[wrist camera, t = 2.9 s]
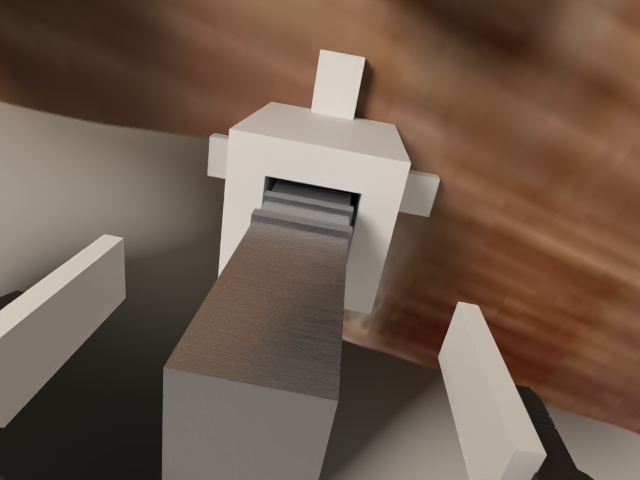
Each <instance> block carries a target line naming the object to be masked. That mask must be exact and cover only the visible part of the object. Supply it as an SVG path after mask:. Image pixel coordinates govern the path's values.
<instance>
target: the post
mask: <svg viewBox="0 0 640 480" xmlns="http://www.w3.org/2000/svg"><path fill="white" fill-rule="evenodd" d="M350 201H351V192H349V191H344V190H339V189H333V188H328V187H323V186H317V185H312V184H307V183H301V182H296V181H291V180H285V179H280V178H279V179H278V180H277V182H276V184H275V185H274V187H273V189H272V190H271V191H266V192H265V194H264V197H263V205H262V207H261V208H260V209H256V208H255V209H254V211H253V212H252V214H251V223H250V226H249V228H248V230H247V231H246V233H245V235H244V236H243V238H242V240H241V241H240V243H239V245H238V246H237V248H236V249H235V251H234V253H233V254H232V256H231V258H230V259H229V261H228V263H227V264H226V266H225V267H224V269H223V271H222V272H221V274H220V276H219V277H218V279H217V281H216V282H215V284H214V286H213V287H212V289H211V290H210V292H209V294H208V295H207V297H206V299H205V300H204V302H203V304H202V305H201V307H200V309H199V310H198V312H197V314H196V315H195V317H194V318H193V320H192V322H191V323H190V325H189V327H188V328H187V330H186V332H185V333H184V335H183V336H182V338H181V340H180V341H179V343H178V345H177V346H176V348H175V350H174V351H173V353H172V355H171V356H170V358H169V359H168V361H167V363H166V365H165V366H164V374H163V377H164V378H163V448H162V449H163V450H162V480H318V479H319V475H320V471H321V467H322V463H323V459H324V455H325V451H326V447H327V443H328V439H329V435H330V431H331V427H332V423H333V419H334V415H335V411H336V407H337V403H338V394H339V378H340V362H341V345H342V330H343V314H344V297H345V281H346V265H347V256H348V252H349V247H350V243H351V238H352V233H353V227H351V226H350V225H351V221H352V216H353V210H354V207H352V206H350Z"/></svg>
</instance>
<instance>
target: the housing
mask: <svg viewBox="0 0 640 480" xmlns="http://www.w3.org/2000/svg"><path fill="white" fill-rule="evenodd" d="M364 63H365V57H360V56H355V55H350V54H344V53H339V52H333V51H328V50H323V49H321V50H320V56H319V62H318V69H317V75H316V82H315V88H314V95H313V101H312V108H311V109H308V108H303V107H298V106H292V105H287V104H282V103H276V102H270V103H269V104H267V105H266V106H264V107H263V108H261V109H260V110H258V111H256V112H255V113H253V114H252V115H250V116H249V117H247V118H246V119H244V120H243V121H241V122H239V123H238V124H236V125H235V126H233V127H232V128H230V129H229V136H228V135H223V134H218V133H214V134H212V135H211V136H210V140H209V158H208V176H213V177H218V178H224V179H226V182H225V195H224V209H223V221H222V235H221V248H220V260H219V261H220V262H219V274H218V277H219V276H220V274H221V272H222V271H223V269H224V267H225V266H226V264H227V263H228V261H229V259H230V258H231V256H232V254H233V253H234V251H235V249H236V248H237V246H238V245H239V243H240V241H241V240H242V238H243V236H244V235H245V233H246V231H247V230H248V228H249V226H250V223H251V214H252V212H253V211H254V209H255V208H256V209H260V208H261V207H262V205H263V197H264V194H265V192H266V191H271V190H272V189H273V187H274V185H275V184H276V182H277V180H278V179H279V178H280V179H285V180H291V181H296V182H301V183H307V184H312V185H317V186H323V187H328V188H333V189H339V190H344V191H349V192H352V194H351V201H350V206H352V207H354V210H353V216H352V221H351V225H350V226H351V227H353V233H352V238H351V243H350V247H349V252H348V256H347V265H346V281H345V297H344V309H346V310H351V311H356V312H361V313H367V314H371V313H372V309H373V305H374V301H375V298H376V294H377V290H378V286H379V282H380V279H381V275H382V271H383V267H384V264H385V260H386V256H387V252H388V248H389V245H390V241H391V237H392V233H393V230H394V226H395V222H396V218H397V214H398V211H399V212H404V213H409V214H415V215H420V216H425V217H429V215H430V212H431V209H432V205H433V202H434V199H435V195H436V192H437V189H438V185H439V182H440V178H439V176H438V175H436V174H431V173H426V172H420V171H415V170H410V165H411V162H410V159H409V157H408V155H407V152H406V150H405V148H404V145H403V143H402V141H401V138H400V136H399V134H398V131H397V129H396V127H395V125H394V124H389V123H383V122H378V121H372V120H367V119H362V118H356V117H354V114H355V108H356V103H357V98H358V93H359V88H360V83H361V78H362V73H363V68H364Z"/></svg>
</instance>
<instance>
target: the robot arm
mask: <svg viewBox="0 0 640 480" xmlns="http://www.w3.org/2000/svg"><path fill="white" fill-rule="evenodd" d="M124 299H125V264H124V238H121V237H116V236H110V235H105V234H104V235H103V236H101V237H100V238H99V239H97V240H96V241H95V242H93V243H92V244H91V245H89V246H88V247H86V248H85V249H84V250H82V251H81V252H80V253H78V254H77V255H75V256H74V257H73V258H71V259H70V260H69V261H67V262H66V263H64V264H63V265H62V266H60V267H59V268H58V269H56V270H55V271H54V272H52V273H51V274H49V275H48V276H47V277H45V278H44V279H43V280H41V281H40V282H39V283H37V284H36V285H34V286H33V287H32V288H30V289H29V290H28V291H26V292H21V291H15V292H12V293H10V294H7V295H5V296H2V297H0V427H5V426H6V425H7V424H8V423H9V422H10V421H11V420H12V418H13V417H14V416H15V415H16V414H17V413H18V412H19V411H20V410H21V409H22V408H23V407H24V405H26V403H27V402H28V401H29V400H30V399H31V398H32V397H33V396H34V395H35V394H36V393H37V392H38V391H39V390H40V389H41V387H42V386H43V385H44V384H45V383H46V382H47V381H48V380H49V379H50V378H51V377H52V376H53V375H54V373H56V371H57V370H58V369H59V368H60V367H61V366H62V365H63V364H64V363H65V362H66V361H67V360H68V358H70V356H71V355H72V354H73V353H74V352H75V351H76V350H77V349H78V348H79V347H80V346H81V345H82V344H83V343H84V341H85V340H86V339H87V338H88V337H89V336H90V335H91V334H92V333H93V332H94V331H95V330H96V329H97V328H98V326H100V324H101V323H102V322H103V321H104V320H105V319H106V318H107V317H108V316H109V315H110V314H111V313H112V312H113V310H114V309H115V308H116V307H117V306H118V305H119V304H120V303H121V302H122V301H123V300H124ZM438 359H439V363H440V367H441V371H442V374H443V379H444V383H445V387H446V390H447V394H448V398H449V402H450V406H451V410H452V414H453V418H454V421H455V426H456V429H457V433H458V438H459V441H460V446H461V450H462V453H463V457H464V461H465V465H466V469H467V473H468V477H469V480H593V479H592V478H591V477H590V476H589V475H587V474H585V473H583V472H582V471H580V470H578V469H577V468H576V466H575V464H574V462H573V460H572V458H571V456H570V454H569V453H568V450H567V449H566V447H565V445H564V443H563V441H562V439H561V437H560V435H559V433H558V431H557V429H555V425H554V423H553V421H552V420H551V418H550V417H549V414H548V412H547V410H546V408H545V406H544V404H543V402H542V400H541V399H540V398H539V397H538V396H537V395H536V394H535V393H534V392H533V391H532V390H531V389H530V388H529V387H524V386H519V385H514V382H513V380H512V378H511V376H510V374H509V372H508V369H507V367H506V365H505V363H504V361H503V359H502V356H501V354H500V352H499V350H498V348H497V346H496V343H495V341H494V339H493V337H492V335H491V333H490V330H489V328H488V326H487V324H486V322H485V319H484V317H483V315H482V313H481V311H480V309H479V306H478V305H474V304H469V303H464V302H458V304H457V306H456V309H455V312H454V315H453V318H452V320H451V323H450V326H449V329H448V331H447V334H446V337H445V340H444V342H443V345H442V348H441V351H440V353H439V356H438Z"/></svg>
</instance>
